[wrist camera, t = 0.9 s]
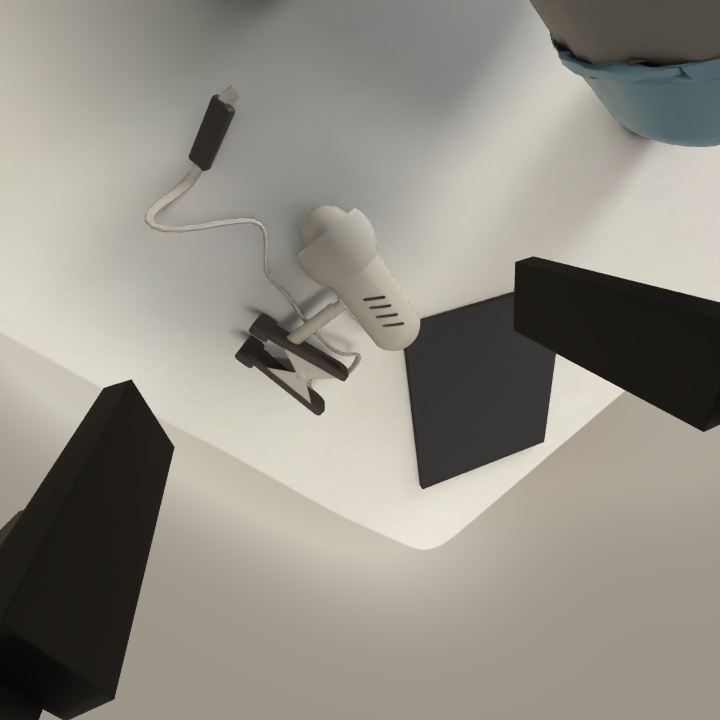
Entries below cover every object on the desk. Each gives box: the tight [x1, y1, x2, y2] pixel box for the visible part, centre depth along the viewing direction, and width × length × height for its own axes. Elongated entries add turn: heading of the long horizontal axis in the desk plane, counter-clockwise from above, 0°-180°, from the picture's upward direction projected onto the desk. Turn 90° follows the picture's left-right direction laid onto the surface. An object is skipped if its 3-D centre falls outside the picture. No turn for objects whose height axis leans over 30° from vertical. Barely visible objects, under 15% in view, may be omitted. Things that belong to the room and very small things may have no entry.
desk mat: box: [404, 292, 556, 489], centre depth 35 cm, size 20×16×1 cm
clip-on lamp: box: [145, 85, 420, 415], centre depth 22 cm, size 12×6×18 cm
